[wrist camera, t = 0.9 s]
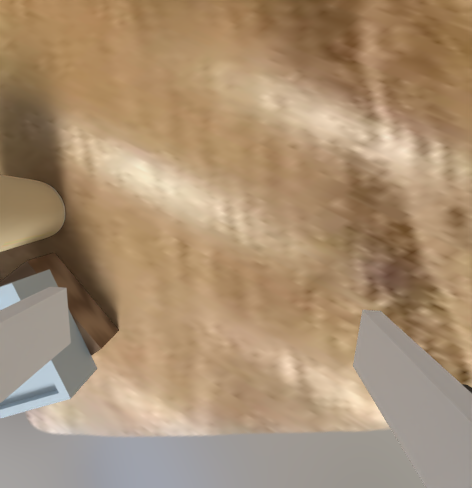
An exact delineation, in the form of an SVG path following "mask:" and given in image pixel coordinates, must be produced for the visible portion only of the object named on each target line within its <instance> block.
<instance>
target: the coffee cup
mask: <svg viewBox="0 0 472 488" xmlns="http://www.w3.org/2000/svg"><path fill="white" fill-rule="evenodd" d="M64 221H65V206H64V203H63V200H62V198H61V197H60V195H59V194H58V192H57V191H56V190H55V189H54V188H53V187H51V186H50V185H48V184H46V183H44V182H41V181H37V180H32V179H26V178H20V177H13V176H7V175H1V174H0V252H2V251H5V250H9V249H12V248H15V247H18V246H22V245H25V244H28V243H32V242H35V241H38V240H41V239H44V238H47V237H50V236H52V235H54V234H56V233H57V232H58V231H59V230H60V229H61V227H62V226H63V224H64Z"/></svg>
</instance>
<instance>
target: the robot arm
mask: <svg viewBox="0 0 472 488" xmlns="http://www.w3.org/2000/svg"><path fill="white" fill-rule="evenodd" d="M70 343H71V338H70V326H69V313H68V301H67V288H63V287H48V288H46V289H44V290H42V291H40V292H38V293H35V294H33V295H31V296H29V297H27V298H25V299H23V300H21V301H19V302H17V303H15V304H12V305H10V306H8V307H6V308H4V309H2V310H0V403H1V402H2V401H4V400H5V399H6V398H7V397H8V396H9V395H11V394H12V393H13V392H14V391H15V390H16V389H18V388H19V387H20V386H21V385H22V384H23V383H25V382H26V381H27V380H28V379H29V378H30V377H32V376H33V375H34V374H35V373H36V372H37V371H39V370H40V369H41V368H42V367H43V366H45V365H46V364H47V363H48V362H49V361H50V360H52V359H53V358H54V357H55V356H56V355H57V354H59V353H60V352H61V351H62V350H63V349H64V348H66V347H67V346H68V345H69V344H70ZM353 367H354V368H355V370H356V372H357V373H358V375H359V377H360V378H361V380H362V382H363V383H364V385H365V387H366V388H367V390H368V392H369V393H370V395H371V397H372V398H373V400H374V402H375V403H376V405H377V407H378V408H379V410H380V412H381V413H382V415H383V417H384V418H385V420H386V422H387V423H388V425H389V427H390V428H391V430H392V432H393V433H394V435H395V437H396V438H397V440H398V442H399V443H400V445H401V447H402V448H403V450H404V452H405V453H406V455H407V457H408V458H409V460H410V462H411V463H412V465H413V467H414V468H415V470H416V472H417V473H418V475H419V477H420V478H421V480H422V482H423V483H424V485H425V487H426V488H472V388H471V387H470V386H468V385H464V384H461V383H460V382H459V381H457V380H456V379H455V378H454V377H453V376H452V375H451V374H450V373H449V372H447V371H446V370H445V369H444V368H443V367H442V366H441V365H440V364H439V363H438V362H436V361H435V360H434V359H433V358H432V357H431V356H430V355H429V354H428V353H426V352H425V351H424V350H423V349H422V348H421V347H420V346H419V345H418V344H416V343H415V342H414V341H413V340H412V339H411V338H410V337H409V336H408V335H407V334H405V333H404V332H403V331H402V330H401V329H400V328H399V327H398V326H397V325H395V324H394V323H393V322H392V321H391V320H390V319H389V318H388V317H387V316H386V315H384V314H383V313H382V312H381V311H373V310H362V316H361V322H360V328H359V334H358V340H357V345H356V351H355V357H354V363H353Z"/></svg>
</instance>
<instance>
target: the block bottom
mask: <svg viewBox="0 0 472 488" xmlns="http://www.w3.org/2000/svg"><path fill="white" fill-rule="evenodd" d="M49 269H50V271H51V273H52V275H53V277H54V280H55V282H56V284H57V286H58V287H63V288H67V301H68V309H69V311H70V313H71V315H72V317H73V319H74V321H75V323H76V325H77V327H78V329H79V332H80V334H81V336H82V338H83V340H84V342H85V344H86V346H87V348H88V350H89V352H90V354H91V355H93V354H94V353H96V352H97V351H99V350H100V349H101V348H102V347H103V346H104V345H105V344H106V343H107V342H108V341H109V340H110V339H111V338H112V337H113V336H114V335H115V334H116V333H117V332H118V331H119V330H118V329H117V327H116V326H115V325H114V324H113V323H112V321H111V320H110V319H109V318H108V317H107V315H106V314H105V313H104V312H103V311H102V309H101V308H100V307H99V306H98V305H97V303H96V302H95V301H94V300H93V299H92V297H91V296H90V295H89V294H88V293H87V291H86V290H85V289H84V288H83V287H82V285H81V284H80V283H79V282H78V281H77V279H76V278H75V277H74V276H73V275H72V273H71V272H70V271H69V270H68V269H67V267H66V266H65V265H64V264H63V263H62V261H61V260H60V259H59V258H58V256H57V255H56V254H55V253H52V254H48V255H45V256H42V257H38V258H35V259H31V260H28V261H26V262H24V263H23V264H22V265H21V266H19V267H18V268H17V269H16V270H14V271H13V272H12V273H11V274H9V275H8V276H7V277H6V278H4V279H3V280H2V281H1V282H0V286H2V285H5V284H8V283H11V282H14V281H17V280H20V279H23V278H26V277H28V276H31V275H34V274H37V273H40V272H43V271H46V270H49Z"/></svg>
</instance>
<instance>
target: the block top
mask: <svg viewBox="0 0 472 488" xmlns="http://www.w3.org/2000/svg"><path fill="white" fill-rule="evenodd" d="M48 287H58V286H57V284H56V282H55V280H54V277H53V275H52V273H51V271H50V269H49V270H46V271H43V272H40V273H37V274H34V275H31V276H28V277H26V278H23V279H20V280H17V281H14V282H11V283H8V284H5V285H2V286H0V310H2V309H4V308H6V307H8V306H10V305H12V304H15V303H17V302H19V301H21V300H23V299H25V298H27V297H29V296H31V295H33V294H35V293H38V292H40V291H42V290H44V289H46V288H48ZM68 313H69V326H70V338H71V343H70V344H69V345H68V346H67V347H66V348H64V349H63V350H62V351H61V352H60V353H59V354H57V355H56V356H55V357H54V358H53V359H52V360H50V361H49V362H48V363H47V364H46V365H45V366H43V367H42V368H41V369H40V370H39V371H37V372H36V373H35V374H34V375H33V376H32V377H30V378H29V379H28V380H27V381H26V382H25V383H23V384H22V385H21V386H20V387H19V388H18V389H16V390H15V391H14V392H13V393H12V394H11V395H9V396H8V397H7V398H6V399H5V400H4V401H2V402H1V403H0V418H3V417H7V416H10V415H14V414H17V413H21V412H24V411H28V410H32V409H35V408H39V407H42V406H46V405H50V404H53V403H57V402H60V401H64V400H67V399H71V398H72V397H73V395H74V394H75V393H76V392H77V391H78V390H79V389H80V388H81V386H82V385H83V384H84V383H85V382H86V381H87V380H88V378H89V377H90V376H91V375H92V374H93V373H94V372H95V371H96V369H97V367H96V365H95V363H94V361H93V359H92V357H91V354H90V352H89V350H88V348H87V346H86V344H85V342H84V340H83V338H82V336H81V334H80V332H79V329H78V327H77V325H76V323H75V321H74V319H73V317H72V315H71V313H70V311H69V309H68Z"/></svg>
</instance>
